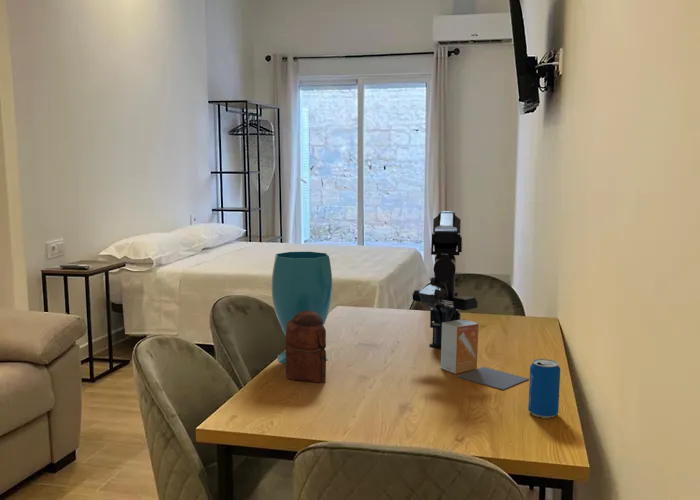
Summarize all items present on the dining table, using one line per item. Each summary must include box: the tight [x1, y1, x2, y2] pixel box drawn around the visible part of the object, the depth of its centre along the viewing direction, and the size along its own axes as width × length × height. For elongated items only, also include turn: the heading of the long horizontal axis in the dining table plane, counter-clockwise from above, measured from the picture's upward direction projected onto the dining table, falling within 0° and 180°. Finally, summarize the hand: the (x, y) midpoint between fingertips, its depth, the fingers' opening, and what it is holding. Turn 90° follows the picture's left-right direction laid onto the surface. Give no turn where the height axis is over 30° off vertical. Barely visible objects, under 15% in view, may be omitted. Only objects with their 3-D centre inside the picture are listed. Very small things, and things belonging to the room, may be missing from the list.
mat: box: [457, 366, 530, 391], centre depth 172 cm, size 14×12×1 cm
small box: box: [440, 318, 480, 375], centre depth 179 cm, size 8×6×13 cm
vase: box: [271, 251, 333, 365], centre depth 187 cm, size 17×17×30 cm
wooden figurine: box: [284, 311, 327, 384], centre depth 169 cm, size 12×6×18 cm, turn 73°
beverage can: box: [527, 358, 561, 419], centre depth 146 cm, size 6×6×12 cm
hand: (443, 329), depth 182 cm, fingers closed
